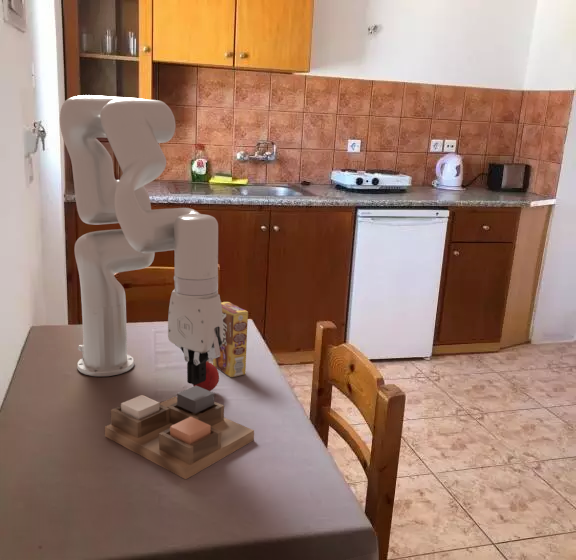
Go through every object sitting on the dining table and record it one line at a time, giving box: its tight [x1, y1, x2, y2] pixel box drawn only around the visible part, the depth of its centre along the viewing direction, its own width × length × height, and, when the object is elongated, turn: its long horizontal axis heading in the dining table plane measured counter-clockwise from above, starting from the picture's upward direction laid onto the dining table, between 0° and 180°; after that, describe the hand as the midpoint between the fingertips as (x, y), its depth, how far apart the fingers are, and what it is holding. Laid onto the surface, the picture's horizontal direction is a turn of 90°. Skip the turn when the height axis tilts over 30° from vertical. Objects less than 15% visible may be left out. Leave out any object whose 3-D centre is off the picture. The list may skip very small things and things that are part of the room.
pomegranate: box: [192, 359, 220, 392], centre depth 132 cm, size 6×6×8 cm
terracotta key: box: [170, 417, 211, 445], centre depth 107 cm, size 5×5×2 cm
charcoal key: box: [176, 386, 215, 414], centre depth 116 cm, size 5×5×2 cm
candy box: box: [212, 301, 249, 378], centre depth 144 cm, size 9×4×15 cm, turn 35°
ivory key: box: [120, 394, 160, 420], centre depth 114 cm, size 5×5×2 cm
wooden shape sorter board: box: [104, 396, 255, 480], centre depth 114 cm, size 21×17×5 cm
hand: (196, 381), depth 115 cm, fingers closed
